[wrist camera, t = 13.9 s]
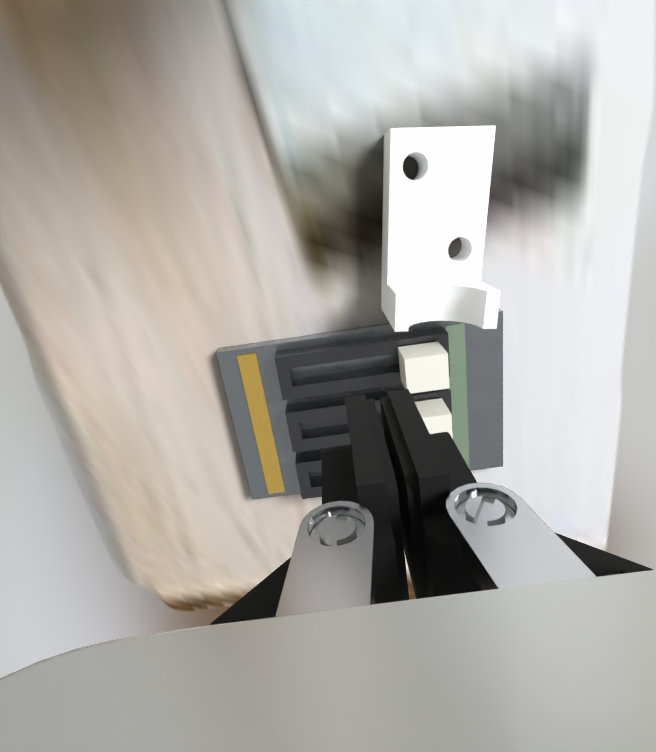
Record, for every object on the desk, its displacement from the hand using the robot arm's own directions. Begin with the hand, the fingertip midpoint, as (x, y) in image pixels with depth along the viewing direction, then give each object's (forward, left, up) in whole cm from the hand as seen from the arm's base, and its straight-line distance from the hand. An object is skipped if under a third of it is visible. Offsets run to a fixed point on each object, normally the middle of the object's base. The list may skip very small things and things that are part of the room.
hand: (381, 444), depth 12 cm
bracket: (-3, +8, -28) cm, 29 cm away
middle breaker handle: (+12, +6, -26) cm, 29 cm away
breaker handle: (+7, +6, -26) cm, 27 cm away
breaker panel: (+12, +1, -27) cm, 30 cm away
